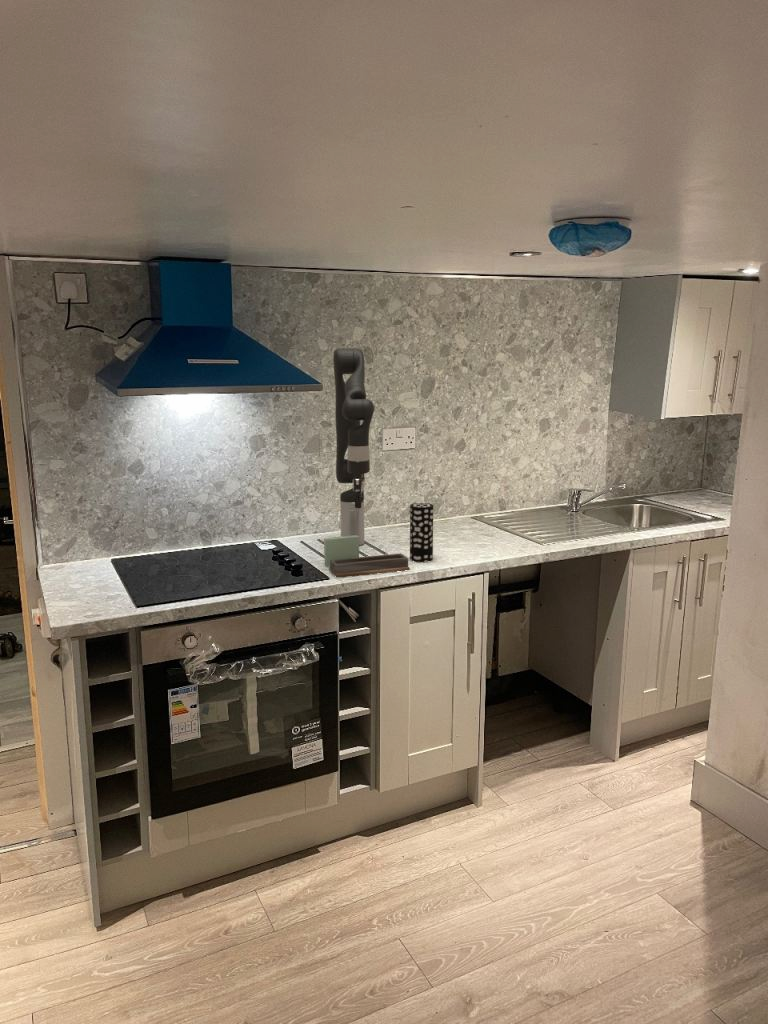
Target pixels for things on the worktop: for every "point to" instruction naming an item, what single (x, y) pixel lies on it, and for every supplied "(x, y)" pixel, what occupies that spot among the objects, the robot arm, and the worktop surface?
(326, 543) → the door panel
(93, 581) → the worktop surface
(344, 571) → the door track
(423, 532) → the spotted tube
